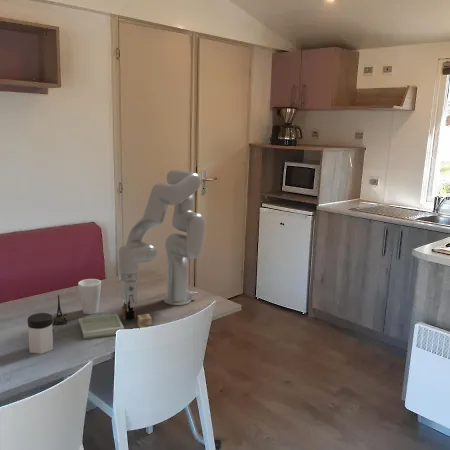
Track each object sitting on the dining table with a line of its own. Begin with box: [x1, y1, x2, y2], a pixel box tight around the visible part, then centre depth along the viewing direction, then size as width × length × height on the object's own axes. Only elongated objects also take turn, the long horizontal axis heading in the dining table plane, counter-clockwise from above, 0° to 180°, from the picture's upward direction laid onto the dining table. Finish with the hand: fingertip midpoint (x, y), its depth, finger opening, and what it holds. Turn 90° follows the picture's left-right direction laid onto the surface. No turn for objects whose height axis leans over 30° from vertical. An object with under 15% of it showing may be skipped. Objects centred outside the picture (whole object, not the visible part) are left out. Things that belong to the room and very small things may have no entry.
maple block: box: [137, 313, 153, 328], centre depth 192 cm, size 4×4×4 cm
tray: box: [78, 313, 125, 340], centre depth 189 cm, size 15×14×3 cm
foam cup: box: [77, 278, 102, 315], centre depth 205 cm, size 10×9×13 cm
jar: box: [27, 312, 54, 355], centre depth 171 cm, size 9×8×12 cm
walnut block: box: [121, 305, 136, 321], centre depth 200 cm, size 4×4×4 cm
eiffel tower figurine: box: [52, 292, 69, 332], centre depth 193 cm, size 15×10×13 cm
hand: (128, 316), depth 201 cm, fingers closed on walnut block, 4 cm apart
